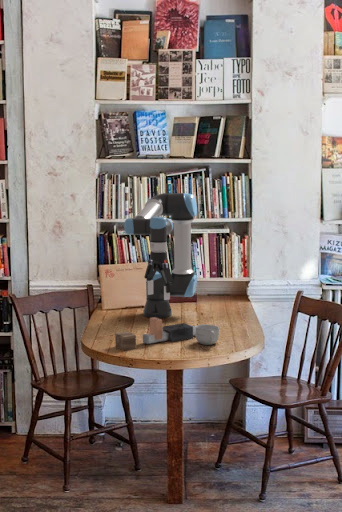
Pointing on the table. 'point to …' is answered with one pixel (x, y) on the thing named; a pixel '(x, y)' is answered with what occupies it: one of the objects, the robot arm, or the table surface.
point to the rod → (158, 332)
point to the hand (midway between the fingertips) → (158, 297)
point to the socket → (125, 340)
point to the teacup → (207, 334)
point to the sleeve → (179, 331)
